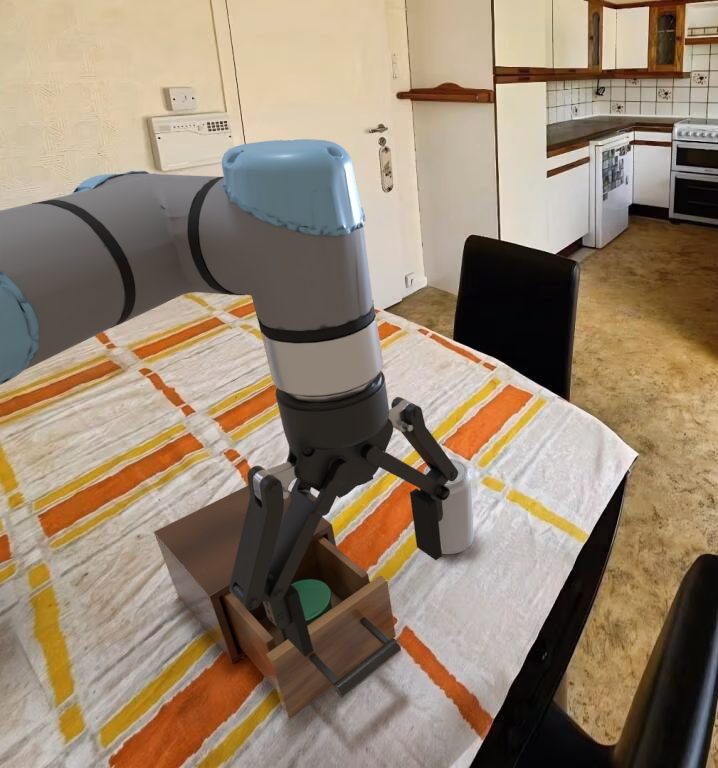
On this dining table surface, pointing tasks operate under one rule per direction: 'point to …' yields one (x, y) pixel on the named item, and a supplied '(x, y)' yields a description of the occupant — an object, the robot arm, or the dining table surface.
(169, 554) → the cabinet
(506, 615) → the dining table surface
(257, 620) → the drawer
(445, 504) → the beverage can
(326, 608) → the green cup
